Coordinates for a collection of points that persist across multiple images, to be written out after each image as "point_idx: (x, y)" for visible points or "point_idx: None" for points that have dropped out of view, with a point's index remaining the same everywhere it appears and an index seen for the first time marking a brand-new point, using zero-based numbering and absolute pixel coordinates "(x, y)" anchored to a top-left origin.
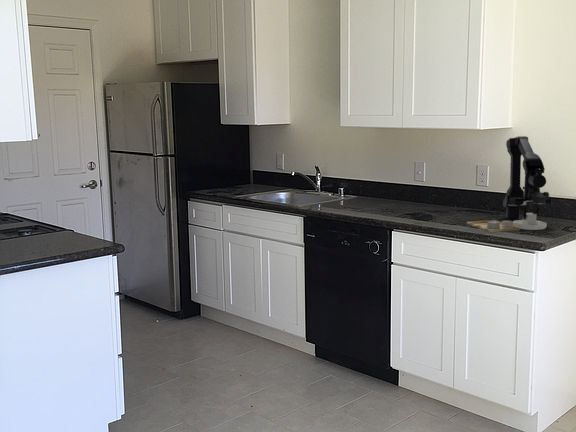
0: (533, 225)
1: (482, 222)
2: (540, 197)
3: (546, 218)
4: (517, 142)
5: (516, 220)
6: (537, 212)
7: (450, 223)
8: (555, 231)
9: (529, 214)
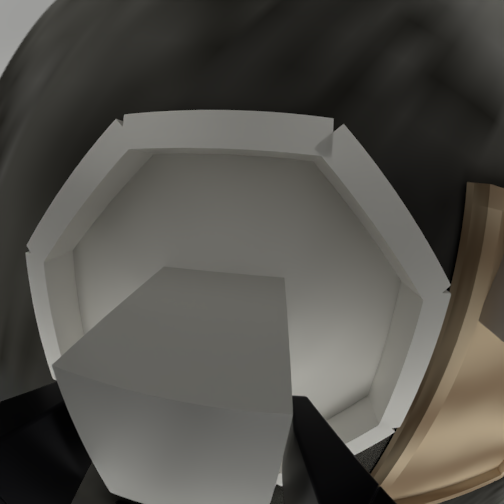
0: (310, 131)
1: (440, 493)
2: None
3: None
4: None
5: None
6: (13, 405)
7: (489, 490)
8: (77, 80)
9: (250, 422)
